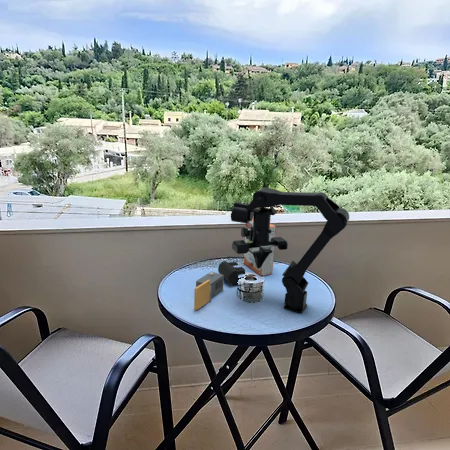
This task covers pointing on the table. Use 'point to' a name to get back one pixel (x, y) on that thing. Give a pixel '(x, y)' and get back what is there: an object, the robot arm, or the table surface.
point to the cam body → (213, 282)
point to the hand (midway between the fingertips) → (258, 268)
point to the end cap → (231, 272)
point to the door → (202, 294)
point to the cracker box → (268, 263)
